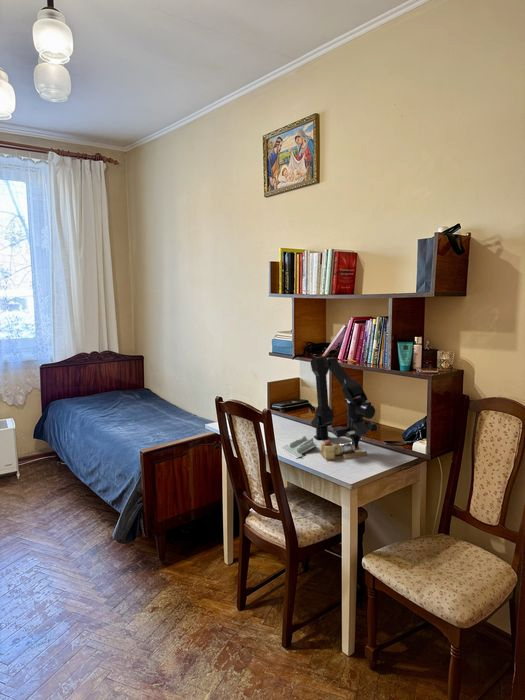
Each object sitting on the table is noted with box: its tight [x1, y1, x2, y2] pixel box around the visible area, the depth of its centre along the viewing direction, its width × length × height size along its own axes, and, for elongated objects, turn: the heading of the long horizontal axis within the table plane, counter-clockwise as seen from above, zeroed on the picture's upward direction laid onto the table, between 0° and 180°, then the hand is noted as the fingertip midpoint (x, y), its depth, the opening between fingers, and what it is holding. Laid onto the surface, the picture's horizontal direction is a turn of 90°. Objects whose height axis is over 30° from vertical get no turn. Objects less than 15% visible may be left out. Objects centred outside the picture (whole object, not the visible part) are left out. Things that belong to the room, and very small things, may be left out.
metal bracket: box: [281, 435, 319, 459], centre depth 213 cm, size 14×6×15 cm
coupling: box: [338, 441, 355, 455], centre depth 205 cm, size 5×6×5 cm
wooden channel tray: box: [319, 439, 368, 463], centre depth 204 cm, size 10×18×7 cm, turn 103°
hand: (356, 447), depth 206 cm, fingers closed
